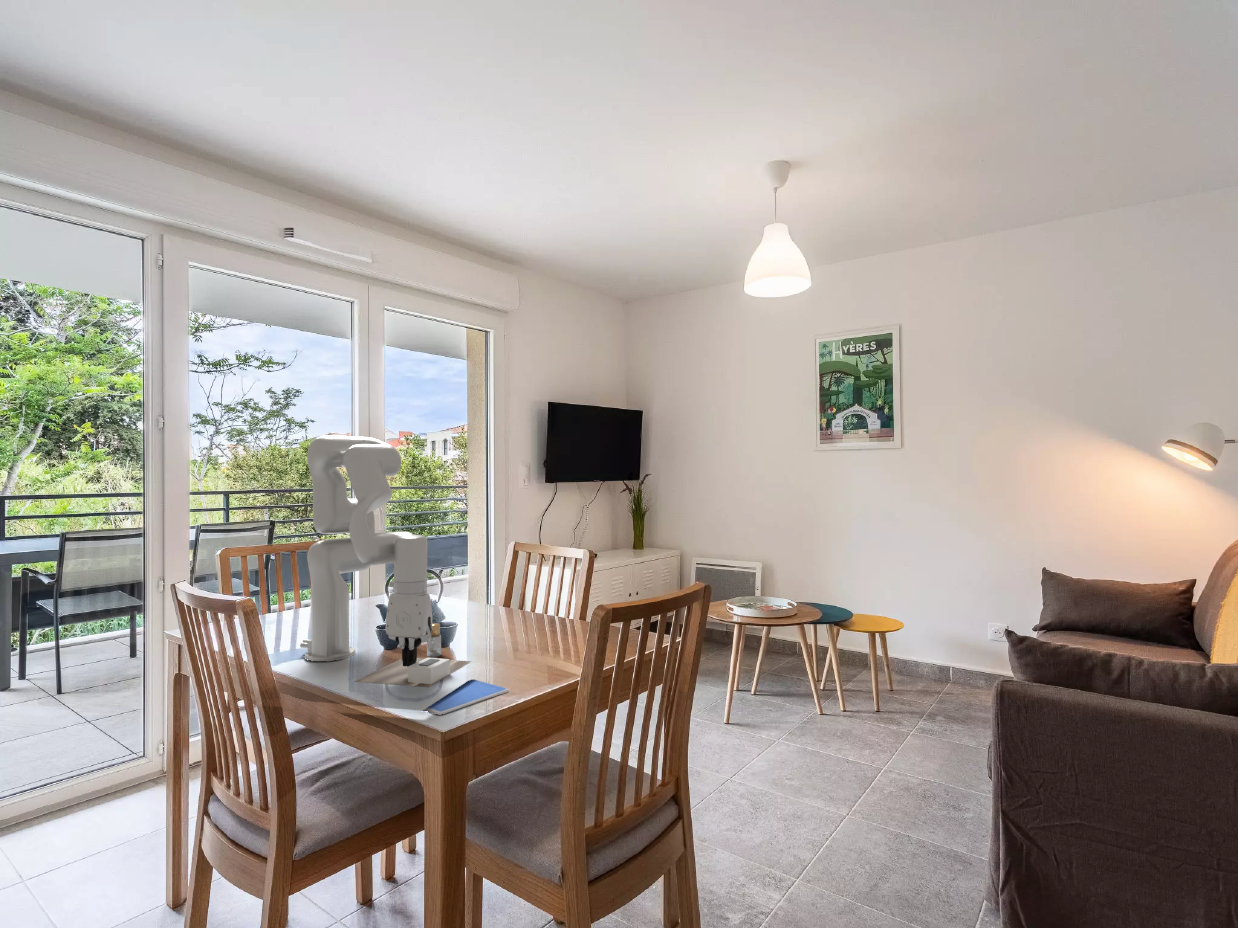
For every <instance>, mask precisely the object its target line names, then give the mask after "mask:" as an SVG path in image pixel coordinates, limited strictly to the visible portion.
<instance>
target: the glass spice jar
mask: <svg viewBox="0 0 1238 928" xmlns="http://www.w3.org/2000/svg"><path fill="white" fill-rule="evenodd" d="M430 634H431V640H430V641H428V642H426V656H427V658H438V657H440V656H441V655H442V634H441V624H440V623H438V622H435V623H433V622H432V632H431V633H430Z"/></svg>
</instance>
